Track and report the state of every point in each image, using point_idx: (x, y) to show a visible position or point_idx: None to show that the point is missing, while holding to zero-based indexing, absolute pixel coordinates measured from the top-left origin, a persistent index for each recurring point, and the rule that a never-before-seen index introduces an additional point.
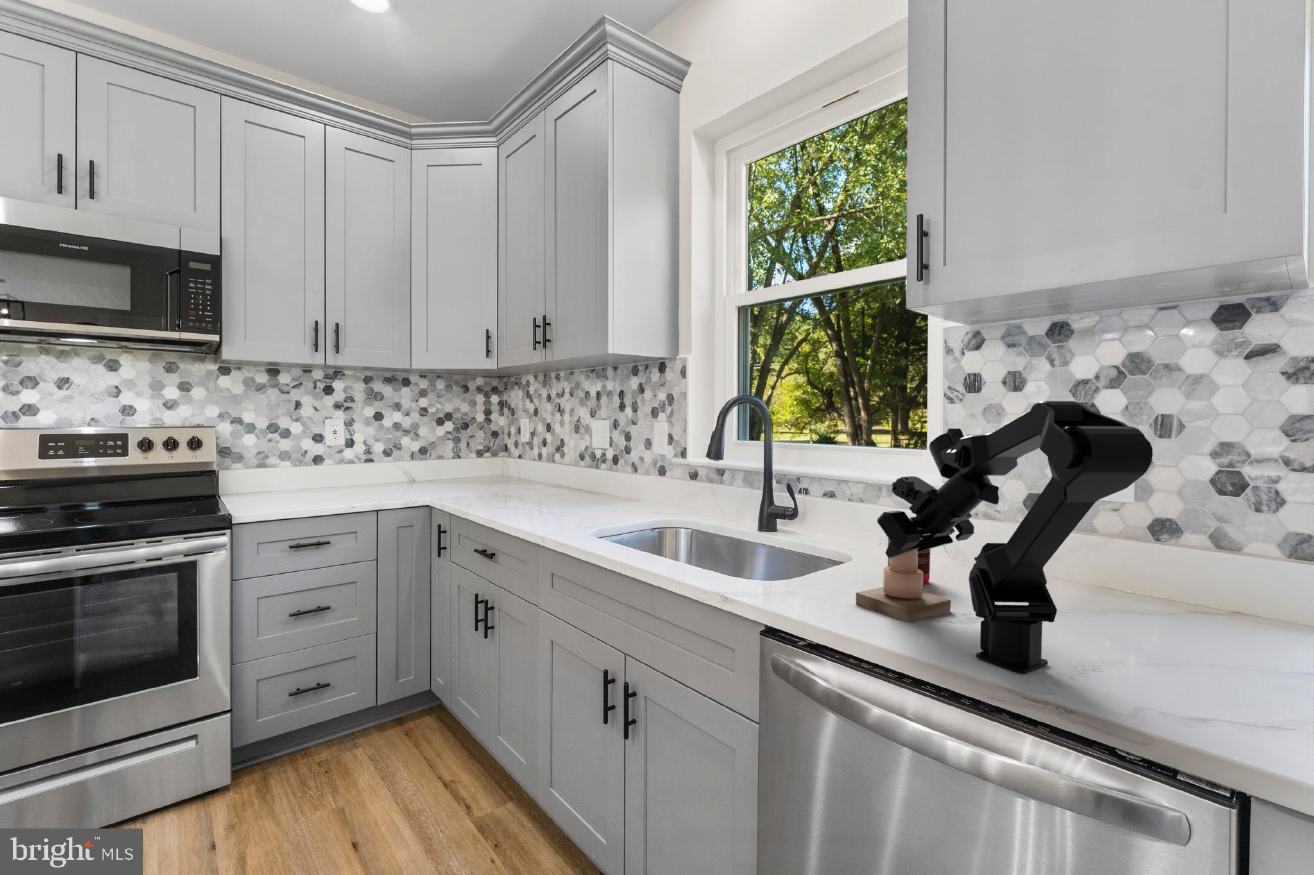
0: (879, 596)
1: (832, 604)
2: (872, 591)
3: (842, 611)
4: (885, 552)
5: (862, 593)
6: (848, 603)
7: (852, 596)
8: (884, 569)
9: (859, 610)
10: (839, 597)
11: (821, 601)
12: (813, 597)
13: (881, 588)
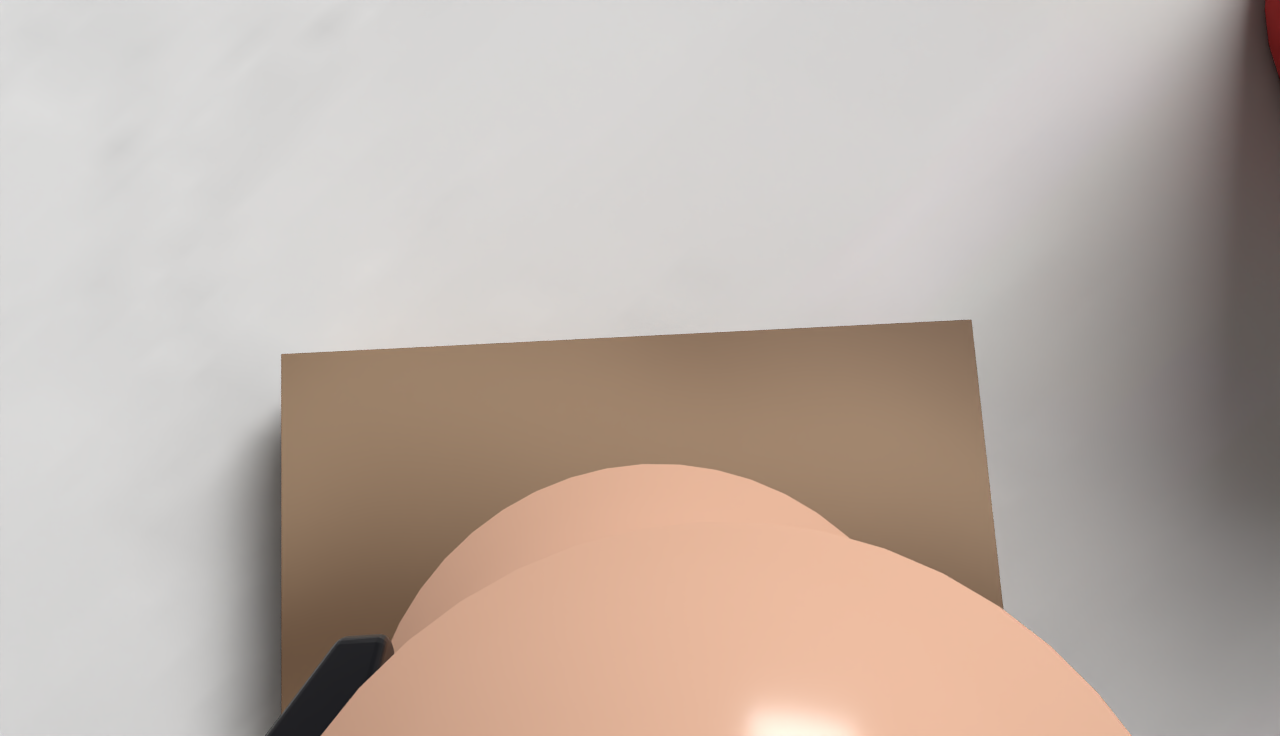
0: (399, 584)
1: (93, 287)
2: (484, 405)
3: (3, 498)
4: (339, 640)
5: (317, 414)
6: (261, 333)
7: (480, 181)
8: (445, 572)
9: (179, 550)
10: (335, 149)
11: (72, 168)
12: (103, 38)
13: (675, 361)
